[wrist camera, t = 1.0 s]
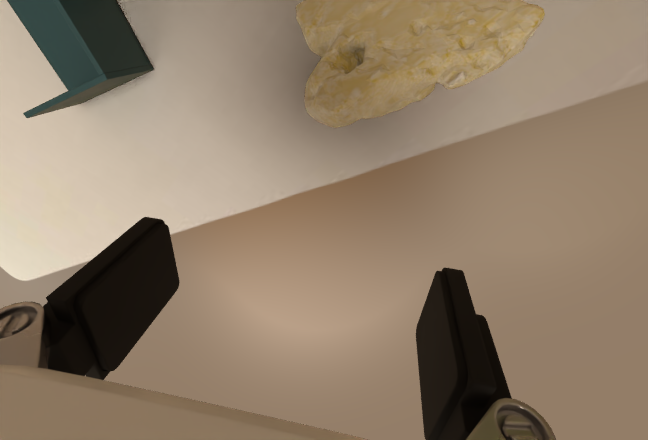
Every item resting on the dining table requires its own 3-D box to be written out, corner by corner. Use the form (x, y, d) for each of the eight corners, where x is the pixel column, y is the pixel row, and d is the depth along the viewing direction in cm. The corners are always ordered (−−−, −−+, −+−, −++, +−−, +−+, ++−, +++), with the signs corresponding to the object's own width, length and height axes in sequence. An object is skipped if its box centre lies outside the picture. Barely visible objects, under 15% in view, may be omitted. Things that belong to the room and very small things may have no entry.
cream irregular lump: (290, 90, 34) (374, 199, 28) (252, 39, 27) (350, 169, 22) (413, -15, 32) (531, 81, 26) (404, -99, 25) (560, 5, 19)
